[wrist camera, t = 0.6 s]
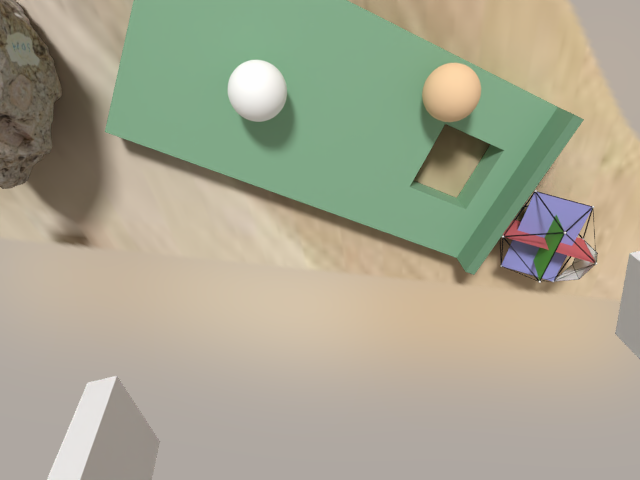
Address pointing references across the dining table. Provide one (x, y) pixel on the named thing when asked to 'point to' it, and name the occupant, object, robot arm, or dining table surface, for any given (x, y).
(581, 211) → the geometric puzzle
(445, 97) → the orange ball
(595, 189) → the dining table surface
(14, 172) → the rock
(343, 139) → the putting mat
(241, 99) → the white ball
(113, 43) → the dining table surface
